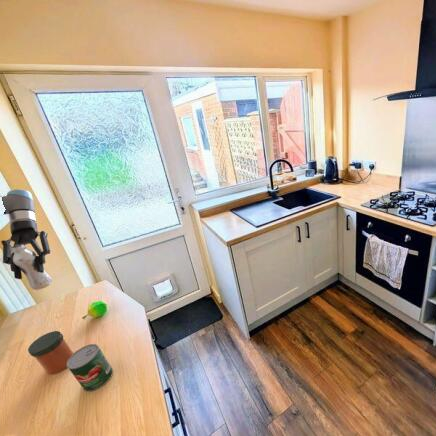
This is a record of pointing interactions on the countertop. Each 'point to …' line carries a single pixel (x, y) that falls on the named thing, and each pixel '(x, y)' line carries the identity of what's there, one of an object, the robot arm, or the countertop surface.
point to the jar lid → (45, 344)
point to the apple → (96, 309)
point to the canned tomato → (90, 367)
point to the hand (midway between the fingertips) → (29, 274)
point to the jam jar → (56, 358)
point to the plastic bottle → (30, 267)
